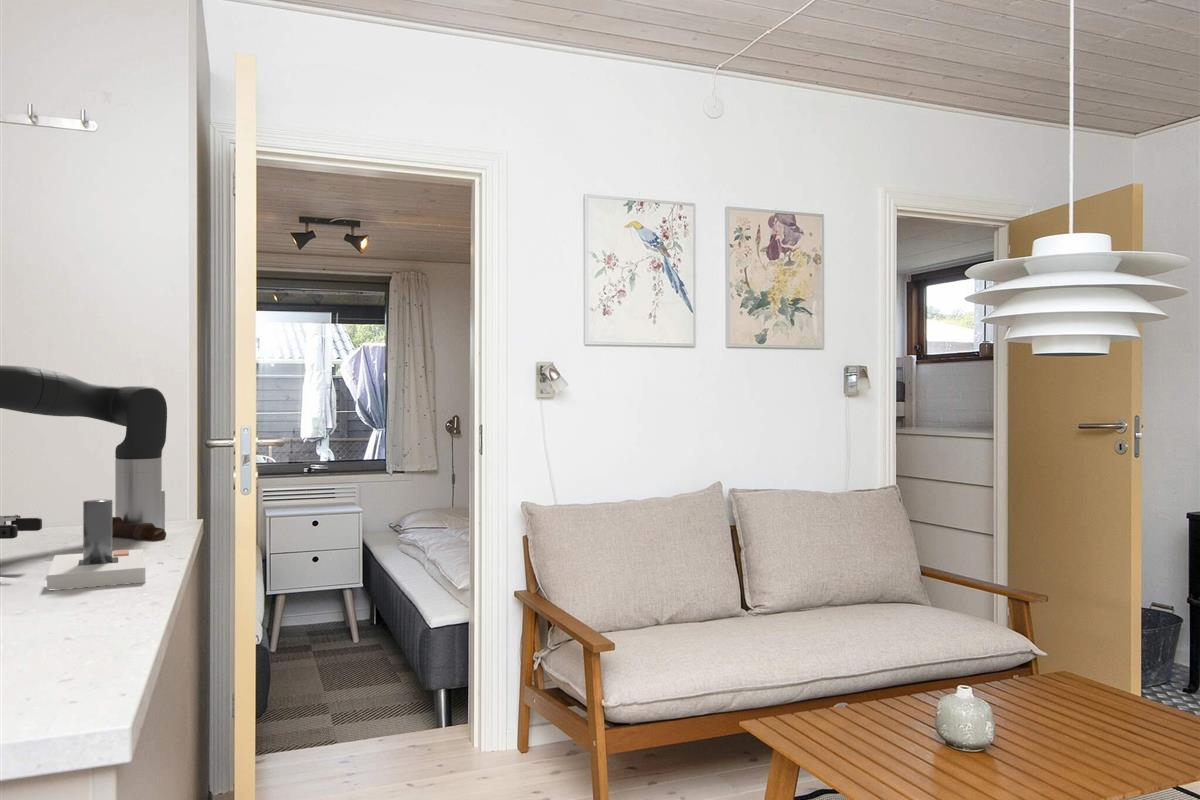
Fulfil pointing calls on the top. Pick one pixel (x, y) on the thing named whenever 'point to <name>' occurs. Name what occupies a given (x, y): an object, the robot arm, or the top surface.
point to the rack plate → (96, 570)
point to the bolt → (136, 530)
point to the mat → (62, 553)
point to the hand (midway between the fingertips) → (29, 527)
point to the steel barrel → (97, 532)
